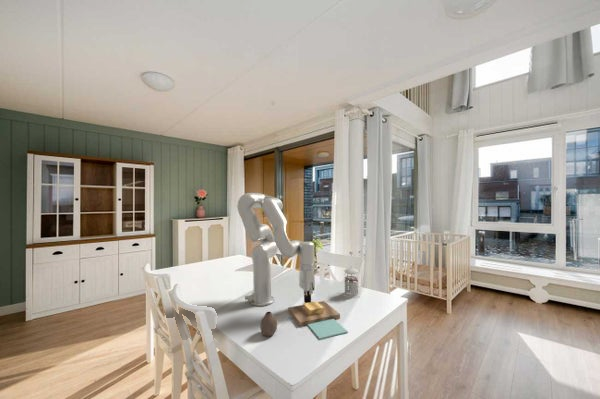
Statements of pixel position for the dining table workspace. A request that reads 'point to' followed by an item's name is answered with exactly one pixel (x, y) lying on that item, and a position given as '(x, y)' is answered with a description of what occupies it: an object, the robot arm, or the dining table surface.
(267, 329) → the vase
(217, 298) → the dining table surface
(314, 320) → the wooden board
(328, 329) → the mat
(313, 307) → the yellow flat block
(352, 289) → the french press
